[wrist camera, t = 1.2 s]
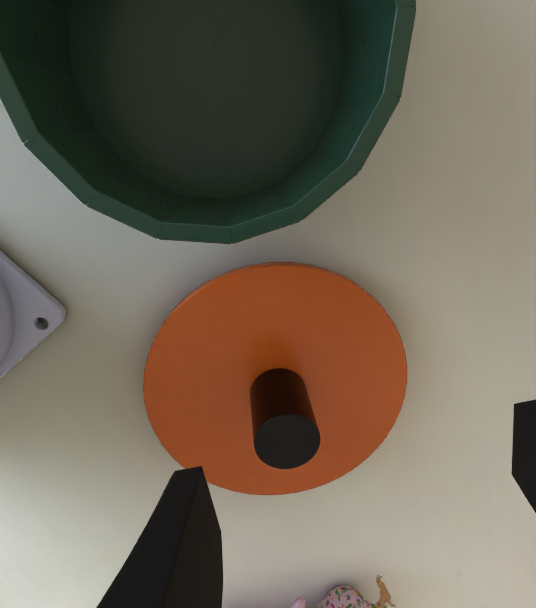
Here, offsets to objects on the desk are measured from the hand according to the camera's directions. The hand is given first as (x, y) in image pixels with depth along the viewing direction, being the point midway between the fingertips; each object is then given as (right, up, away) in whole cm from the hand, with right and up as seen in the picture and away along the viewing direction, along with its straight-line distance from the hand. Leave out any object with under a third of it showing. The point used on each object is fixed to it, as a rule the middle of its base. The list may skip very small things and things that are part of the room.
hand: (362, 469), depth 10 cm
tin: (-4, +12, +5) cm, 14 cm away
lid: (-2, 0, +9) cm, 10 cm away
